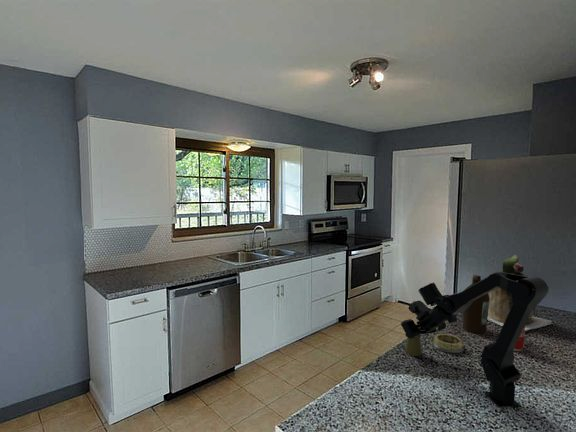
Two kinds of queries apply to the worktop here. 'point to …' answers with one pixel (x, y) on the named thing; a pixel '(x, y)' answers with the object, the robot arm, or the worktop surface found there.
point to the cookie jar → (510, 300)
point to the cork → (413, 346)
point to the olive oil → (476, 312)
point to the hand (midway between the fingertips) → (410, 334)
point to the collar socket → (448, 343)
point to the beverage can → (520, 341)
